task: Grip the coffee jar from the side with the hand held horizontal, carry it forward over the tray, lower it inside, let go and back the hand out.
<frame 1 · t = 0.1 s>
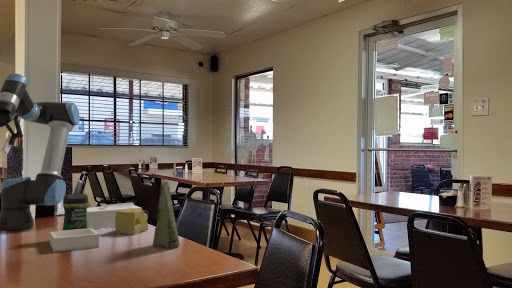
coffee jar: (74, 240, 166), on the table
cheese: (131, 232, 183), on the table
tray: (74, 246, 155), on the table
tissue box: (111, 225, 199), on the table
pouch: (165, 246, 157), on the table
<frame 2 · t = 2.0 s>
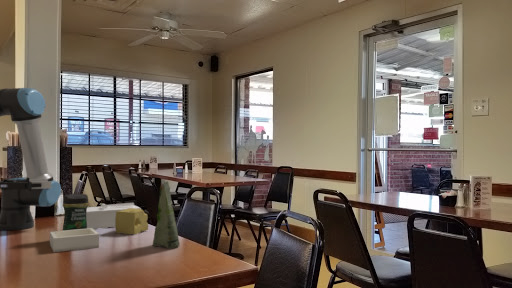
hand: (49, 183, 162), 23 cm above the table, tool horizontal, fingers open, 13 cm apart
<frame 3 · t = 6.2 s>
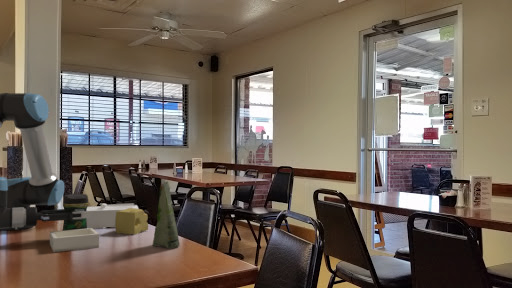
hand: (87, 212, 169), 11 cm above the table, tool horizontal, fingers closed on coffee jar, 8 cm apart
coffee jar: (74, 239, 166), on the table, touching gripper
when the fingers open (12 cm above the table, at t = 10.4 s): coffee jar drops 1 cm, resting on tray.
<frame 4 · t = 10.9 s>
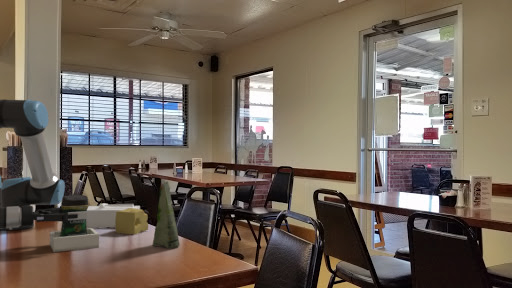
hand: (84, 212, 157), 12 cm above the table, tool horizontal, fingers open, 13 cm apart
coffee jar: (73, 244, 155), point 1 cm above the table, touching tray
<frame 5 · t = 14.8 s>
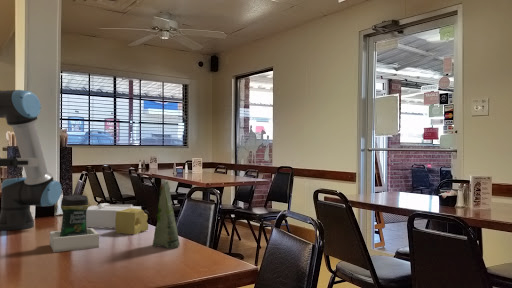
hand: (37, 162, 152), 32 cm above the table, tool horizontal, fingers open, 13 cm apart
at the end: coffee jar inside the target area on the tray (0.1 cm from its centre), point 0.6 cm above the tray's base; coffee jar tilted 0°; the gripper is holding nothing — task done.
